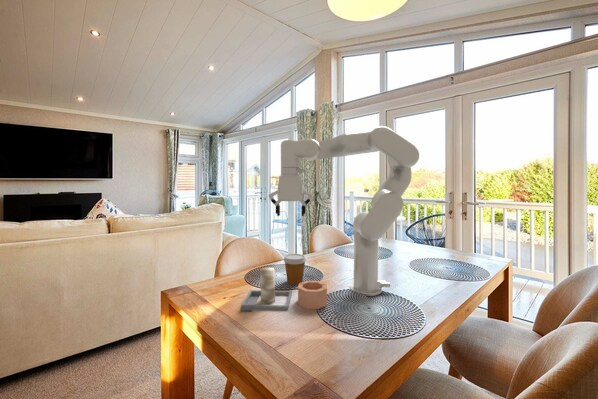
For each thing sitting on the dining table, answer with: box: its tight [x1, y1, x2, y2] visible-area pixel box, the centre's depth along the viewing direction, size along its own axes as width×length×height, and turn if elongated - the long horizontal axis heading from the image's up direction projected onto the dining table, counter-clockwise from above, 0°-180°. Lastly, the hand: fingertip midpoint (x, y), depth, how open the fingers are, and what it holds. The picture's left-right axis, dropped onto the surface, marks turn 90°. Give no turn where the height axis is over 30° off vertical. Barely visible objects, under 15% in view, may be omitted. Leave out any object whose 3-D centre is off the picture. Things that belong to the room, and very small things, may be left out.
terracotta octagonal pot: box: [297, 280, 328, 310], centre depth 101 cm, size 10×10×7 cm
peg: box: [260, 266, 276, 305], centre depth 102 cm, size 5×5×12 cm
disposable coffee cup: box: [283, 253, 307, 286], centre depth 121 cm, size 10×10×12 cm
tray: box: [240, 289, 293, 313], centre depth 102 cm, size 16×13×2 cm
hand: (290, 215), depth 112 cm, fingers open, 9 cm apart
